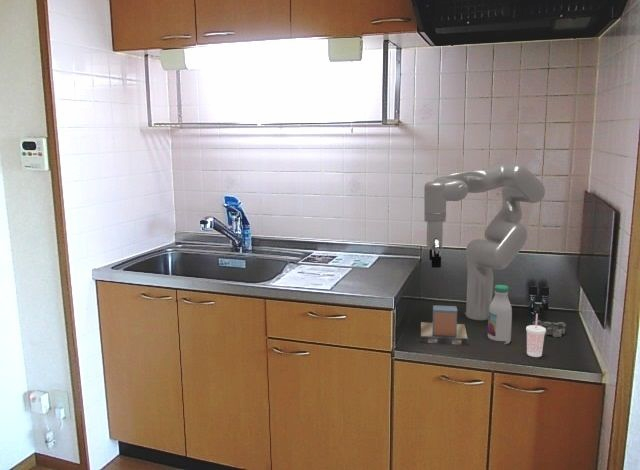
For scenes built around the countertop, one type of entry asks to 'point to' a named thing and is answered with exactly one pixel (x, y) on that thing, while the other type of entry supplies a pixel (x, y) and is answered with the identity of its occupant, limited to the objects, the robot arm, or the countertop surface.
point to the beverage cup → (535, 339)
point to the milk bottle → (500, 315)
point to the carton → (444, 321)
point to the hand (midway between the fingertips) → (435, 263)
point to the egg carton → (552, 328)
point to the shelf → (427, 337)
